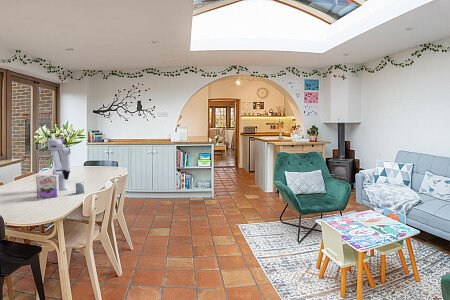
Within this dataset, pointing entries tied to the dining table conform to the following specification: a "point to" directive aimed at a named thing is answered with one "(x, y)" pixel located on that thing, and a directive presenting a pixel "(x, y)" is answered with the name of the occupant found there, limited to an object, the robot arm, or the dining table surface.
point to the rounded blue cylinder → (79, 188)
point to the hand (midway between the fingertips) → (66, 179)
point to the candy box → (47, 186)
